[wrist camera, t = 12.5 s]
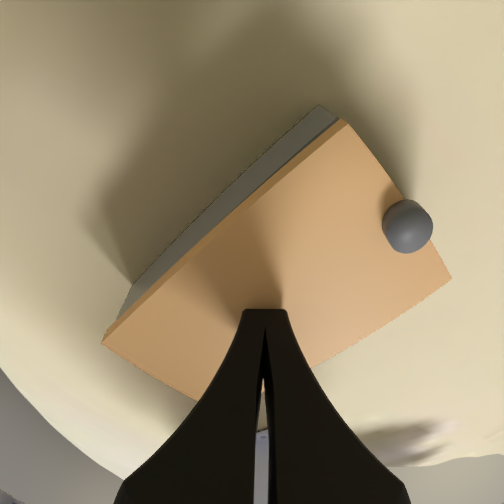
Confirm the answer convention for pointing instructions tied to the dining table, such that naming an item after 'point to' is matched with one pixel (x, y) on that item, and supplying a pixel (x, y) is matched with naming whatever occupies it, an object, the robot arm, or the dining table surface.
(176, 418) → the dining table surface
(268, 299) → the cover
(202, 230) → the grey angled bars
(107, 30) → the dining table surface
